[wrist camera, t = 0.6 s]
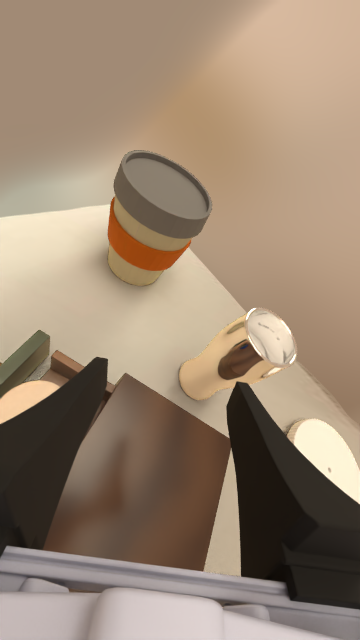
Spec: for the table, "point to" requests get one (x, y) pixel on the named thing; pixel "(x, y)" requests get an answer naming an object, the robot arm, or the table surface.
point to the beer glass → (240, 355)
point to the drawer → (29, 359)
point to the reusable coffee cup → (153, 216)
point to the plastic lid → (327, 454)
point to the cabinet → (142, 484)
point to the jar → (24, 397)
